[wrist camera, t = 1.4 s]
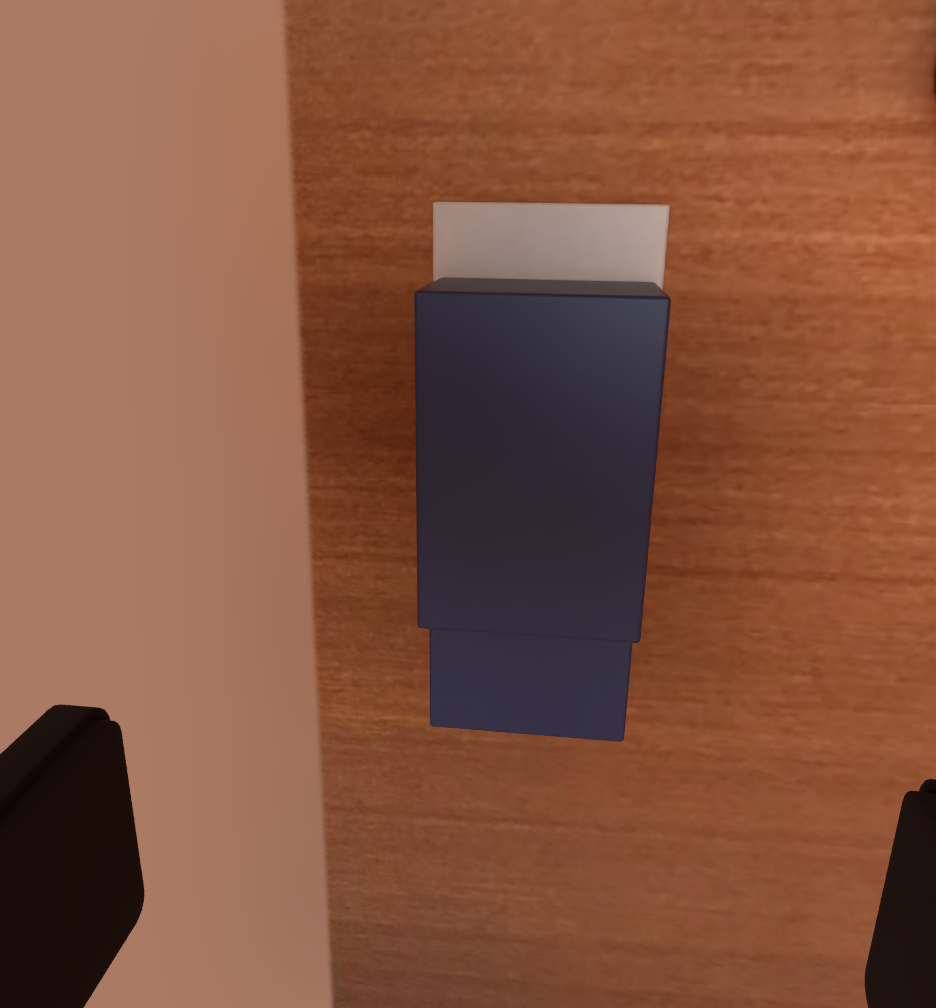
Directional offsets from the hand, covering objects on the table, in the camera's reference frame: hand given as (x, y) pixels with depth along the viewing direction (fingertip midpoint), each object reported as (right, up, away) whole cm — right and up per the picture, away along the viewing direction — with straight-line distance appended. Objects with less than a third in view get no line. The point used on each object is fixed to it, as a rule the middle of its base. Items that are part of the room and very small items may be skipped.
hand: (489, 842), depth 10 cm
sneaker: (+2, +5, +17) cm, 18 cm away
